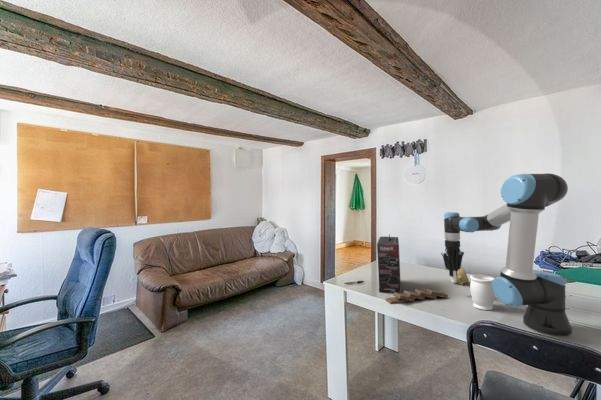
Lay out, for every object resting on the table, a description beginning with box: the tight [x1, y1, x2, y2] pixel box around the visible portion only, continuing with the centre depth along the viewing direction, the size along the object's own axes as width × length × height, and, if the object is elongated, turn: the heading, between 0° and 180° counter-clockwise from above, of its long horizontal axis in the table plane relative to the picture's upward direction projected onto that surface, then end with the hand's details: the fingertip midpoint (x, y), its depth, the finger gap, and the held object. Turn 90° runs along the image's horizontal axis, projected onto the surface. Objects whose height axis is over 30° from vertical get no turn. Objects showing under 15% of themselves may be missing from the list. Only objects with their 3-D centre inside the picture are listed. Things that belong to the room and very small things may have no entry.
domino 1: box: [385, 296, 408, 305], centre depth 146 cm, size 2×5×10 cm
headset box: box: [376, 233, 401, 294], centre depth 168 cm, size 24×13×33 cm, turn 160°
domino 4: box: [414, 288, 438, 300], centre depth 149 cm, size 2×5×10 cm
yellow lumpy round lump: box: [456, 266, 470, 286], centre depth 171 cm, size 10×12×11 cm
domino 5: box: [425, 287, 449, 299], centre depth 149 cm, size 2×5×10 cm
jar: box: [469, 274, 496, 311], centre depth 135 cm, size 11×10×15 cm
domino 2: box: [392, 292, 416, 302], centre depth 145 cm, size 2×5×10 cm
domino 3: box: [402, 290, 426, 301], centre depth 147 cm, size 2×5×10 cm
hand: (453, 281), depth 151 cm, fingers closed
